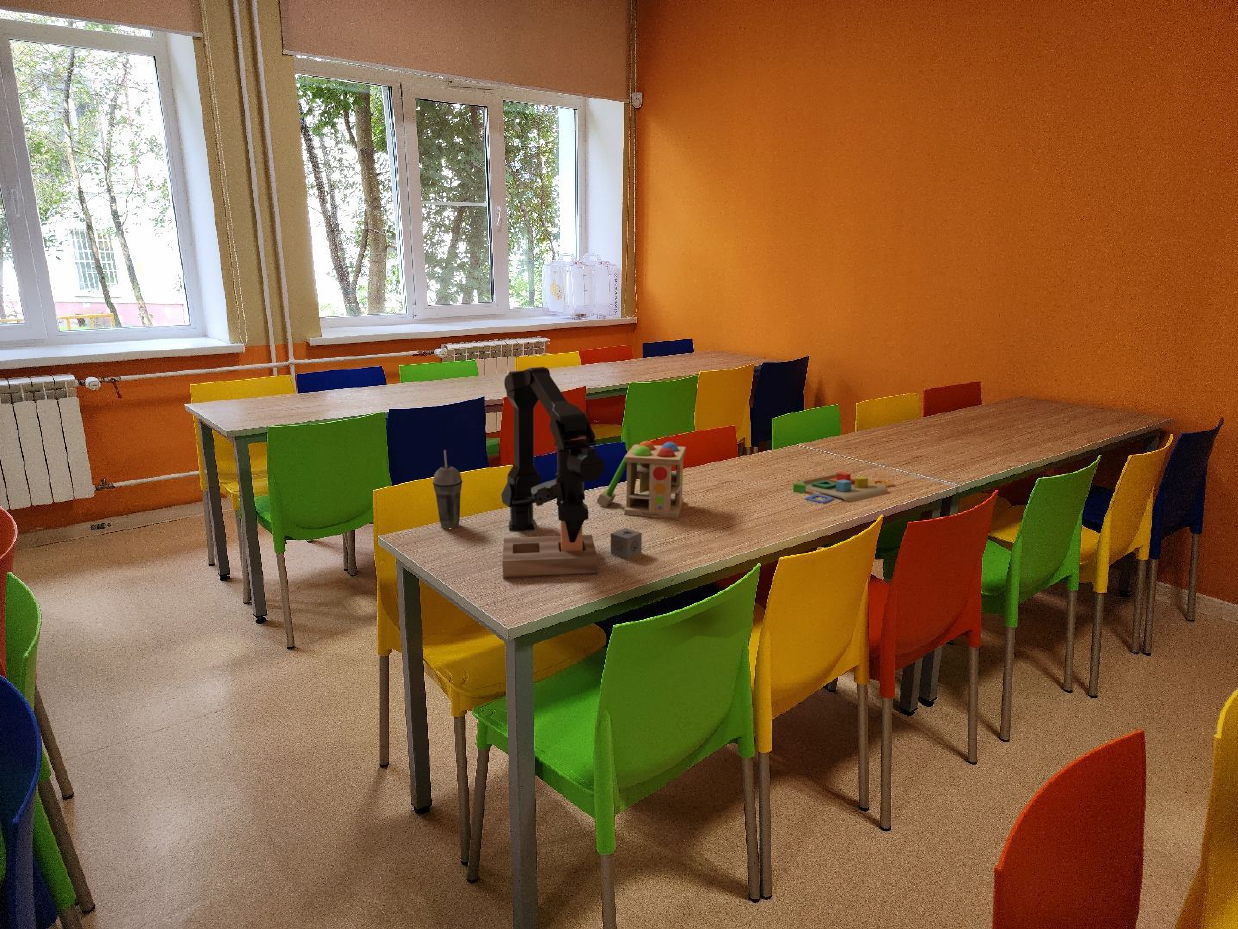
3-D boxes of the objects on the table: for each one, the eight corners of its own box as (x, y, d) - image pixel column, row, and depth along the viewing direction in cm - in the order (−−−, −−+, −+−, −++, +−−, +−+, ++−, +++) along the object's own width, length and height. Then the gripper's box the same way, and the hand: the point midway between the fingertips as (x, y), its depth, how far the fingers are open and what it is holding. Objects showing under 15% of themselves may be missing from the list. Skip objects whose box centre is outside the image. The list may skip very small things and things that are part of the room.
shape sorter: (857, 475, 248) (859, 461, 247) (908, 490, 233) (909, 475, 231) (778, 492, 231) (778, 477, 229) (827, 509, 215) (828, 493, 214)
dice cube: (641, 553, 182) (641, 532, 181) (627, 559, 179) (627, 538, 178) (625, 548, 186) (625, 528, 184) (610, 554, 182) (610, 533, 181)
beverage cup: (466, 521, 204) (463, 445, 198) (462, 531, 197) (458, 452, 191) (438, 521, 203) (433, 445, 198) (432, 531, 196) (427, 452, 191)
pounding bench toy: (592, 513, 210) (591, 447, 206) (603, 497, 224) (603, 435, 219) (678, 518, 206) (679, 451, 201) (684, 502, 220) (686, 439, 215)
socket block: (504, 554, 181) (503, 538, 180) (591, 550, 184) (591, 534, 183) (503, 578, 168) (502, 561, 167) (597, 574, 170) (597, 557, 169)
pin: (560, 548, 178) (560, 505, 175) (581, 547, 178) (580, 504, 175) (561, 555, 173) (561, 511, 171) (582, 554, 174) (582, 511, 171)
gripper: (532, 459, 179) (534, 525, 183) (533, 483, 161) (535, 555, 165) (581, 458, 180) (582, 523, 184) (588, 481, 162) (588, 553, 166)
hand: (571, 538), depth 175 cm, fingers closed on pin, 4 cm apart
